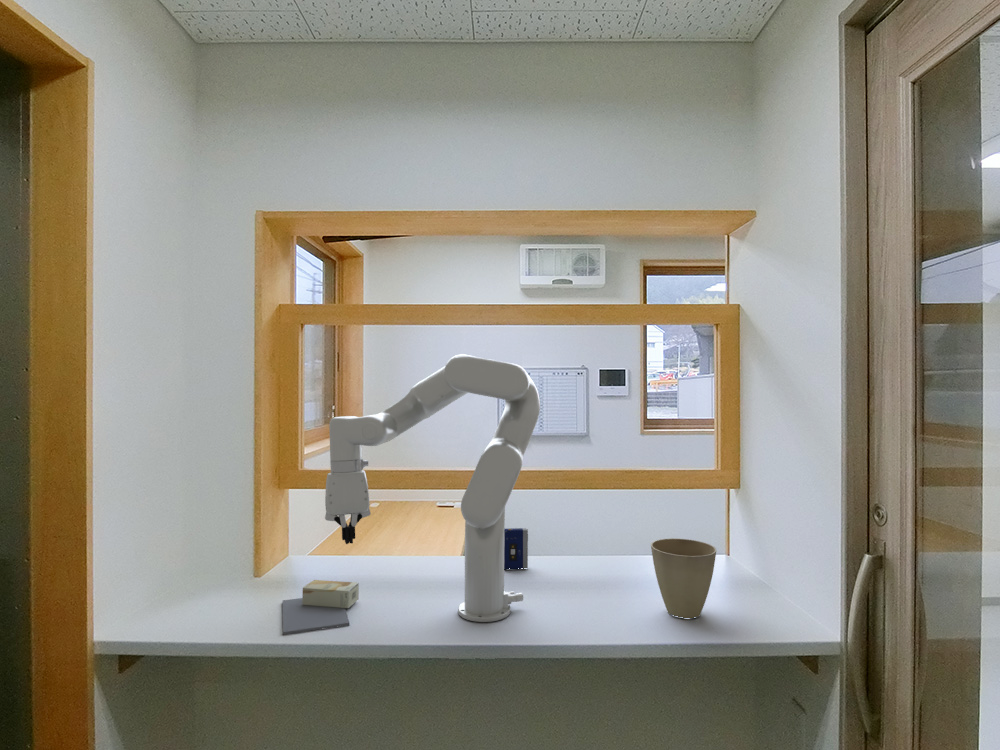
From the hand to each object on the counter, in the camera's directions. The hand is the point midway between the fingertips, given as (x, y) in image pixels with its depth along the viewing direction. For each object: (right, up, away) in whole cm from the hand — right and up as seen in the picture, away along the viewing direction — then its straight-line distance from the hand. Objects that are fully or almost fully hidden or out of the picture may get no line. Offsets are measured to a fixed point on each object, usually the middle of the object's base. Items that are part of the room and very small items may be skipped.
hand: (348, 542), depth 138 cm
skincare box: (+1, -14, +2) cm, 14 cm away
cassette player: (+41, -17, +31) cm, 55 cm away
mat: (-7, -16, -3) cm, 18 cm away
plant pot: (+81, -16, -3) cm, 82 cm away
